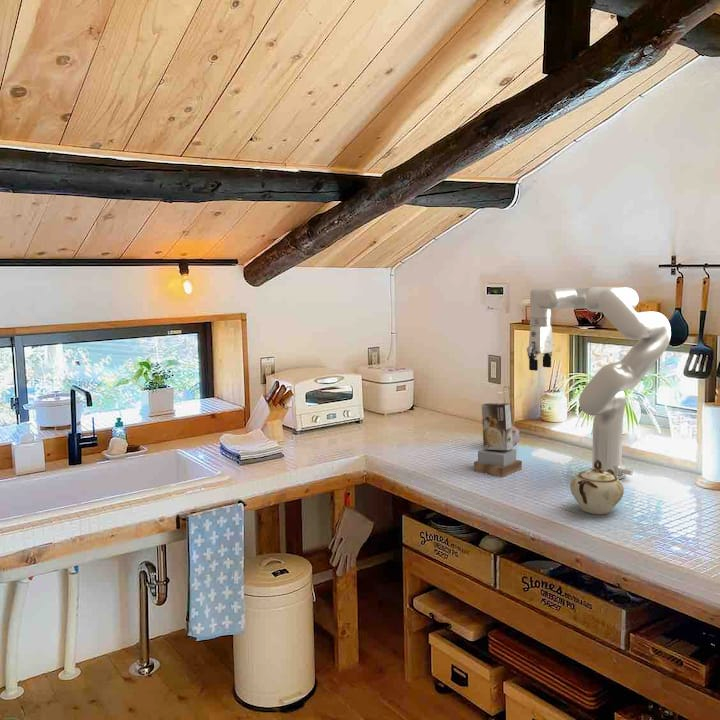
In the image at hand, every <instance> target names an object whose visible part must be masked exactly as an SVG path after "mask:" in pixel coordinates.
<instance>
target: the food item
mask: <svg viewBox="0 0 720 720" xmlns="http://www.w3.org/2000/svg"><path fill="white" fill-rule="evenodd" d="M520 437H521V436H520V430H519V429H518V427H517V426H515V425H513V424H512V442H513V447H514V446H516V445H517V443H519V441H520Z"/></svg>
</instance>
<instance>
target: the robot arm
mask: <svg viewBox="0 0 720 720" xmlns="http://www.w3.org/2000/svg"><path fill="white" fill-rule="evenodd" d="M529 294H530V295H529V298H530V299H529V327H530V328H529V337H528V340H529V341H528V346H527V348H526V352H527V358H528V369H529V371H536V372H537V371H538V367H539V366H538V365H539V361H538V357H539V355H543V356H542V367H543V368H552V356H553V351H554V338H553V337H554V336H553V334H554V333H553V328H552V310H554V311H555V310H564V309H587V310H588V311H589V312H591V313H593V312H594V313H602V315H604V317H605V318H606V319H607V320H608V321H609V322H610V323H611V324H612V325H613V326H614V328H615V329H616V330H617V331H618V332H619V333H620V334H621V335H622V336H624V337H625V338H627V339H629V340H634V341H635V340H639V341H638V342H636V343H635V344H634V345H633V346H632V347H631V348H629V351H628V352H627V354H626V355H624V357H623V358H622V359H620V361H618V362H612V363H609V364H605V365H604V366H602V367H601V368H600V369H598V371H596V373H595V374H594V376H592V378H591V379H590V381H588V383H587V385H586V386H585V387H584V388H583V389H582V391H581V393H580V395H579V399H578V404H579V405H578V406H579V408H580V410H581V411H582V412H583V413H584V414H585V415H589V416H592V417H593V416H594V417H593V420H592V448H591V449H592V450H591V451H592V455H591V456H592V460H591V464H592V465H591V466H592V467H590V468H588V469H587V471H588V470H593V469H595V467H594V462H595V461H596V460H599V461H600V462H601V464H602V465H601V466H602V468H601V469H600V470H603V471H606V470H608V469H611V470H613V472H614V475H615V476H616V477H617V478H618V479H619V480H623V479H624V478H626V477H627V475H628V476H633V474H634V470H633V468H632V467H626V466H625V462H622V458H623V451H622V450H623V424H624V423H623V422H624V413H625V409H626V402H627V399H626V398H627V397H626V396H627V395H626V393H625V391H628V390H629V391H630V390H632V389H634V388H635V387H636V386H637V385H638V384H639V383H640V381H641V380H642V379H643V378H644V377H645V376H646V374H648V372H649V371H650V369H651V368H652V367H653V365H654V364H655V363H656V362H657V361H658V359H659V358H660V357H661V356H662V354H664V352H665V351H666V349H667V348H668V347H669V344H670V341H671V336H672V331H671V330H672V328H671V324H670V322H669V319H668V318H667V317H666V316H665V315H664V314H662V313H661V312H658V311H653V310H652V311H639V312H637V311H636V310H635V309H636V307H637V306H638V304H639V299H640V298H639V295H638V293H637V291H636V290H634V289H633V288H631V287H627V286H590V287H557V288H555V287H554V288H533V289H531V290H530V293H529ZM598 465H599V464H598V463H597V467H598Z"/></svg>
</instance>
